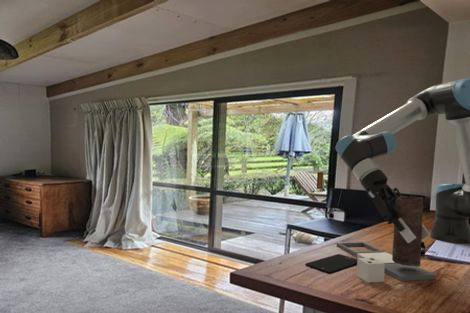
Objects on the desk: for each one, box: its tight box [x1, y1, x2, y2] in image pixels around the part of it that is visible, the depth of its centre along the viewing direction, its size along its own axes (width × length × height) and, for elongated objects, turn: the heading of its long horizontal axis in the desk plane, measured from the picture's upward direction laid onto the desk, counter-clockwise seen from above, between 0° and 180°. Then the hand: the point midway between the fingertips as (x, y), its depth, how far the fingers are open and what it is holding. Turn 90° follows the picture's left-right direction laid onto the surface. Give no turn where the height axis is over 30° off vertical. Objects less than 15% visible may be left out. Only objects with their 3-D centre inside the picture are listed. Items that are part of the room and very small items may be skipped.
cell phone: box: [304, 253, 357, 275], centre depth 107 cm, size 9×18×1 cm, turn 130°
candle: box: [391, 195, 424, 268], centre depth 100 cm, size 8×7×20 cm
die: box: [356, 257, 385, 283], centre depth 96 cm, size 5×5×5 cm
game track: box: [336, 241, 436, 282], centre depth 112 cm, size 11×34×1 cm, turn 13°
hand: (419, 238), depth 98 cm, fingers closed on candle, 7 cm apart
